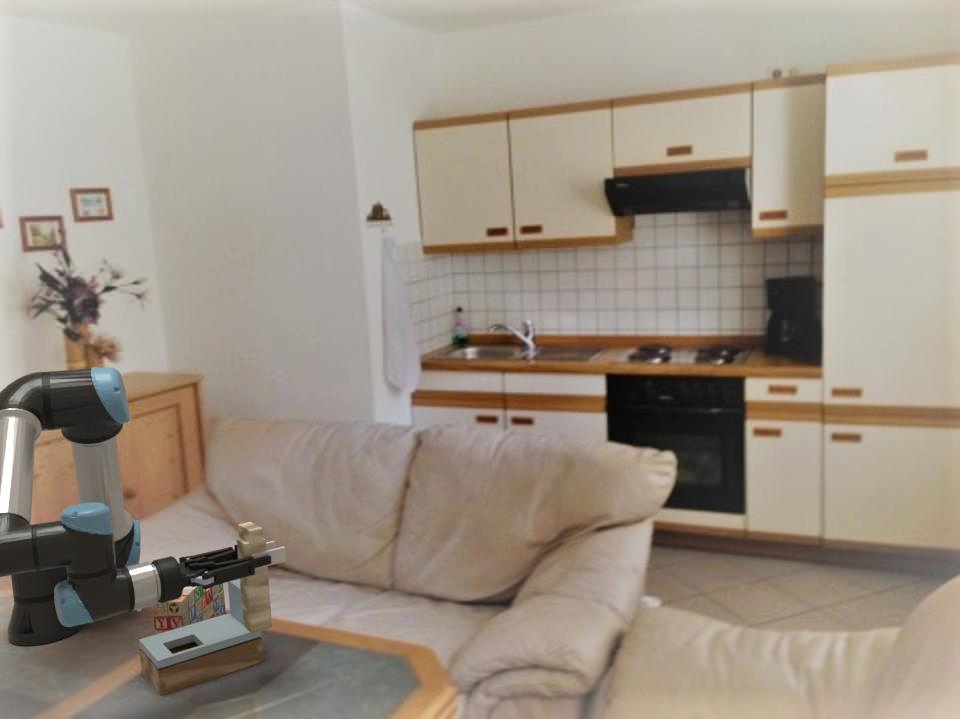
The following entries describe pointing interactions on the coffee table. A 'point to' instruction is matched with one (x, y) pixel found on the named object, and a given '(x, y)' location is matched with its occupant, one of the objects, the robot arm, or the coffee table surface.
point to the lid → (201, 634)
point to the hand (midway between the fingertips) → (279, 550)
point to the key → (254, 580)
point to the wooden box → (201, 665)
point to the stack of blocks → (189, 608)
